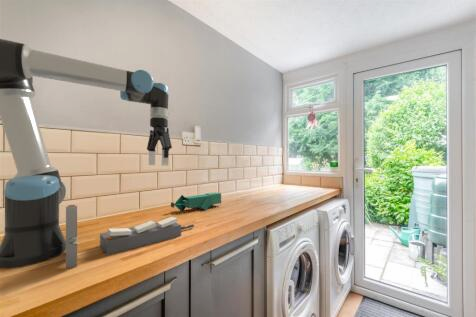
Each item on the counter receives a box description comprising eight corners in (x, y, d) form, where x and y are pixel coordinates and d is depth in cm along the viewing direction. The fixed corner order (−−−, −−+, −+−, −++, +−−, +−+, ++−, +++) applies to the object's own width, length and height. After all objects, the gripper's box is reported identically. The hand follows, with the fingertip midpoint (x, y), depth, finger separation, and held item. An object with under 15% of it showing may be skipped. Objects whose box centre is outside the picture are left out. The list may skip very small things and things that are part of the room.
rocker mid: (138, 233, 70) (137, 229, 70) (134, 230, 73) (133, 227, 73) (156, 226, 74) (155, 222, 74) (151, 223, 77) (151, 220, 77)
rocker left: (110, 235, 65) (111, 231, 65) (107, 232, 68) (108, 228, 68) (131, 234, 69) (132, 231, 69) (127, 231, 72) (128, 228, 72)
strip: (106, 255, 63) (106, 240, 63) (100, 245, 71) (100, 232, 71) (200, 230, 85) (200, 219, 85) (187, 225, 93) (187, 214, 93)
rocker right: (162, 228, 76) (161, 224, 75) (157, 225, 78) (157, 222, 78) (177, 221, 80) (177, 218, 79) (172, 219, 82) (172, 216, 82)
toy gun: (75, 201, 68) (77, 205, 56) (76, 253, 67) (77, 268, 55) (66, 202, 67) (65, 206, 55) (66, 255, 66) (65, 271, 54)
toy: (167, 194, 119) (213, 189, 138) (167, 212, 119) (213, 204, 138) (176, 197, 109) (223, 191, 128) (176, 216, 109) (224, 207, 128)
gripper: (180, 115, 91) (179, 165, 90) (155, 123, 109) (154, 164, 108) (163, 112, 86) (162, 165, 85) (140, 120, 103) (139, 164, 103)
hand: (158, 165), depth 97 cm, fingers open, 13 cm apart
